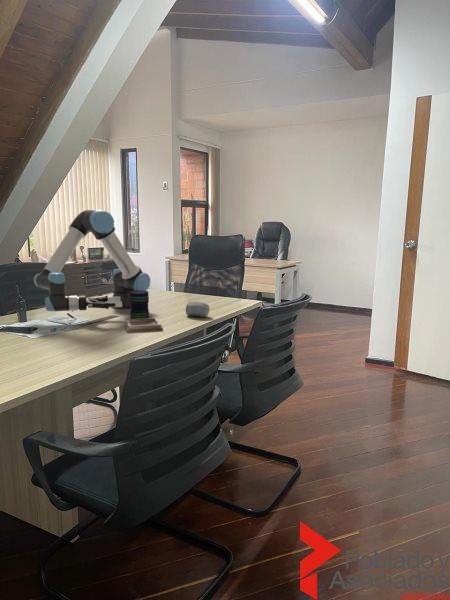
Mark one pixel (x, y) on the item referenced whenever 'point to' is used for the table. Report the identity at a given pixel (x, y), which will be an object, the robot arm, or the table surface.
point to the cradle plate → (143, 325)
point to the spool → (197, 309)
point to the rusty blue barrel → (139, 304)
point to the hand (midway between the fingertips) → (121, 301)
